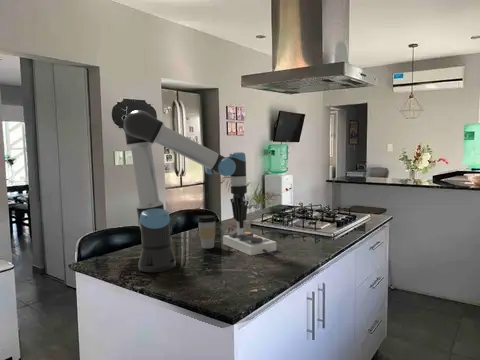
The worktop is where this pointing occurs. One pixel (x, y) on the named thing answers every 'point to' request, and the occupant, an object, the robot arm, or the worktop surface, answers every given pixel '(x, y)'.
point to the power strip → (250, 245)
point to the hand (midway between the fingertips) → (240, 234)
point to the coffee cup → (207, 230)
